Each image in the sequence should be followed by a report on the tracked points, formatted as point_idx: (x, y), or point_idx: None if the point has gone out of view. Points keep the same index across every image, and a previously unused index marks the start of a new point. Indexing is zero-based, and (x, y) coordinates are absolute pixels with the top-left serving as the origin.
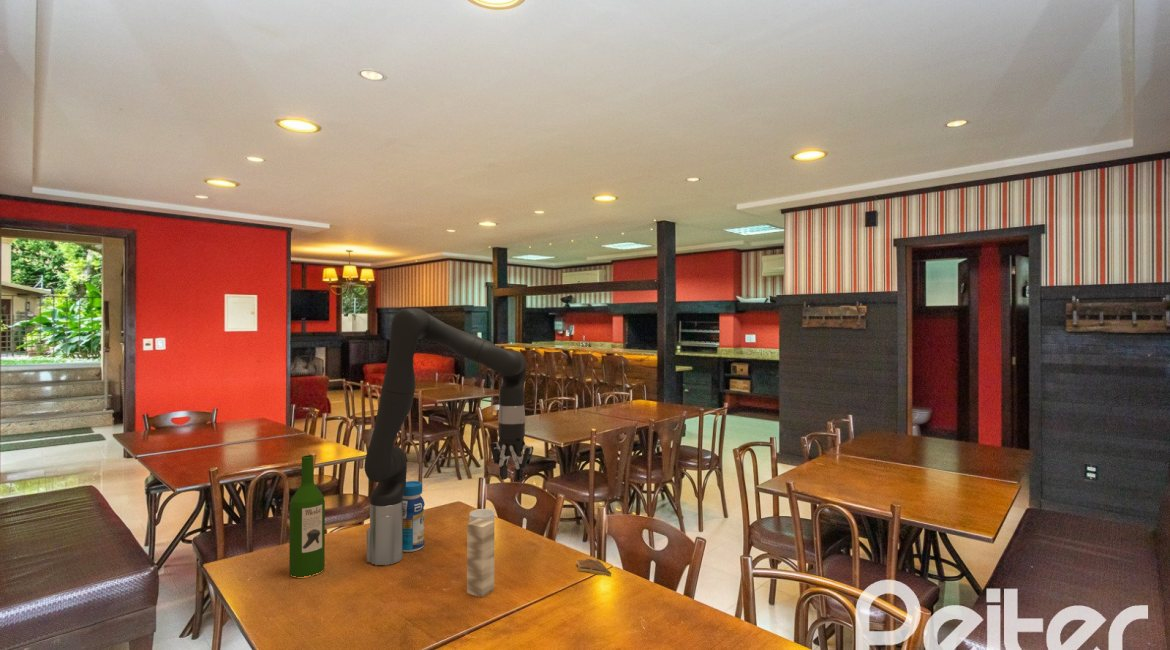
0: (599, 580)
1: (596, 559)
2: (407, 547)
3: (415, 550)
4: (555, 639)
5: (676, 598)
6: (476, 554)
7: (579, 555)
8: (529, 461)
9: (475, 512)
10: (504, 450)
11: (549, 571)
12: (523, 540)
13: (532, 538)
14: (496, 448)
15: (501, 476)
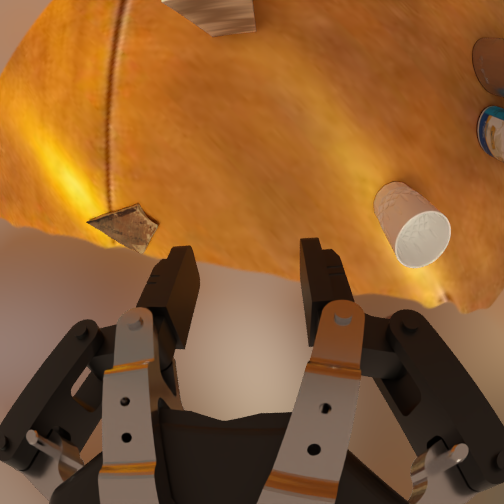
0: (90, 196)
1: (139, 251)
2: (492, 108)
3: (480, 116)
4: (33, 25)
5: (12, 216)
6: None
7: None
8: (82, 384)
9: (442, 243)
10: (272, 483)
11: (177, 170)
12: None
13: None
14: (441, 455)
15: (316, 247)
